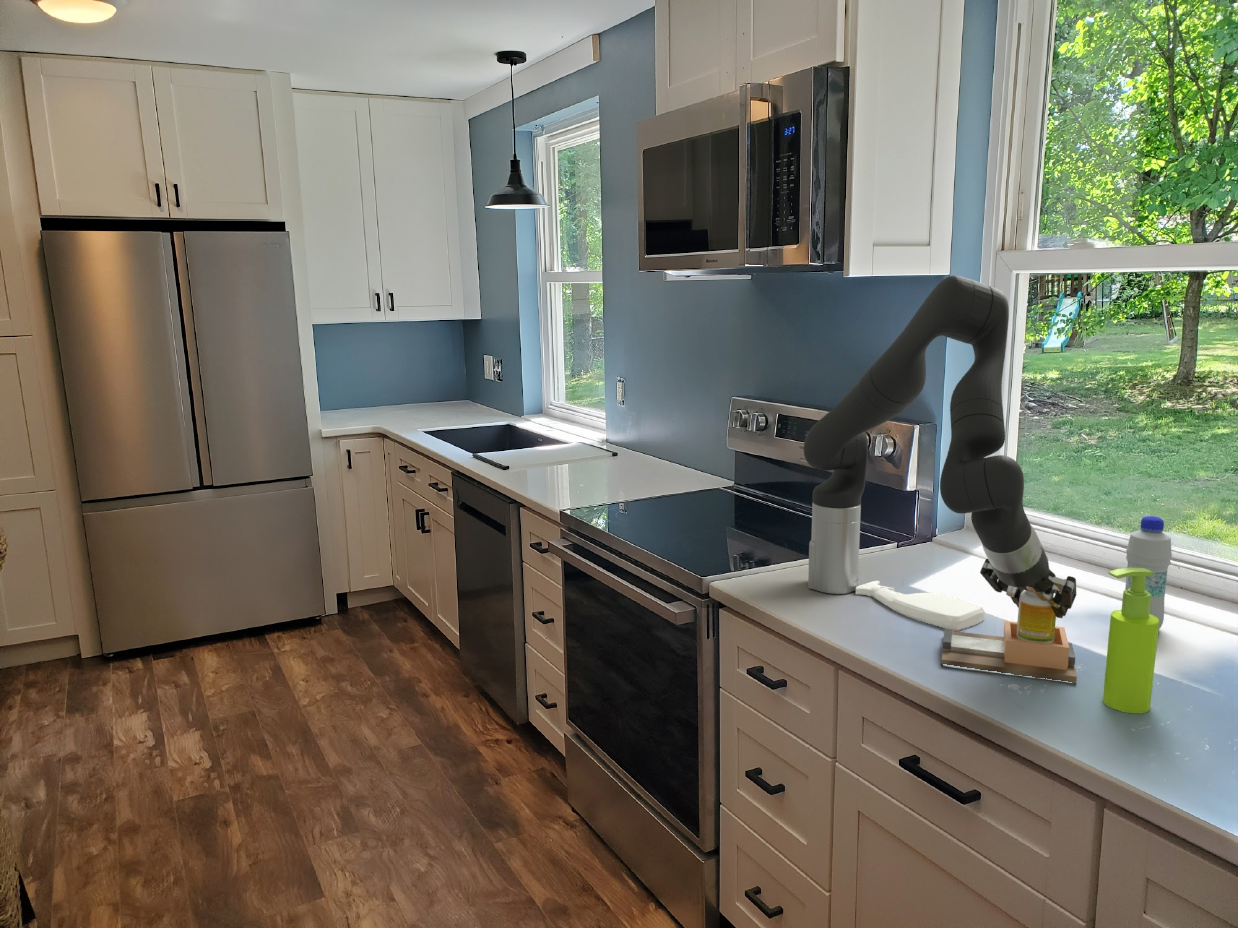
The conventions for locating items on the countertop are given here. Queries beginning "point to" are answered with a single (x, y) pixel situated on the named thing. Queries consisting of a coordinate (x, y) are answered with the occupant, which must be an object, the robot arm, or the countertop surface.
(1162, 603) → the bottle
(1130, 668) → the soap dispenser
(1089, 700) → the countertop surface
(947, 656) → the rail board
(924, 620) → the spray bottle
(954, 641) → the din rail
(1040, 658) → the orange open box
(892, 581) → the countertop surface
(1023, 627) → the supplement bottle
